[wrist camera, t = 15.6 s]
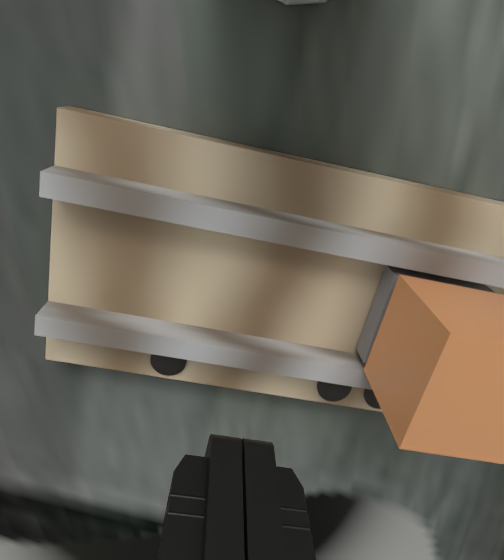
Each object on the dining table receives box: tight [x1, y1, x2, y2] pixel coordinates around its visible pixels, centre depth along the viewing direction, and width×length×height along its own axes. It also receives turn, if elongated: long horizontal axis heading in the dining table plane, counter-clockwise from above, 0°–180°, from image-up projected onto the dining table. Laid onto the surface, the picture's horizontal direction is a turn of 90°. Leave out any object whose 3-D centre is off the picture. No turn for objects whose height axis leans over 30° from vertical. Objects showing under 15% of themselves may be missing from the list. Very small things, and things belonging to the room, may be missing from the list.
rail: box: [35, 106, 504, 412], centre depth 22 cm, size 32×12×3 cm, turn 78°
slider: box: [356, 265, 504, 464], centre depth 19 cm, size 5×5×7 cm
